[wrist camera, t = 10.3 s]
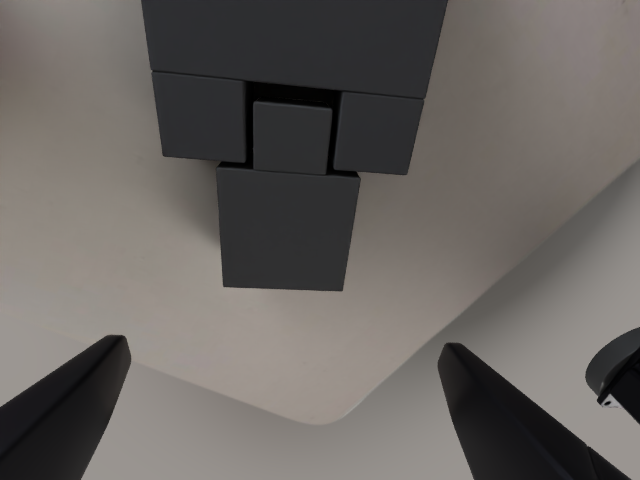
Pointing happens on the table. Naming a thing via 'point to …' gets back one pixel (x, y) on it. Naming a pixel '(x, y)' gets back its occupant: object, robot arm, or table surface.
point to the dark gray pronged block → (293, 72)
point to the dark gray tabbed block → (286, 203)
